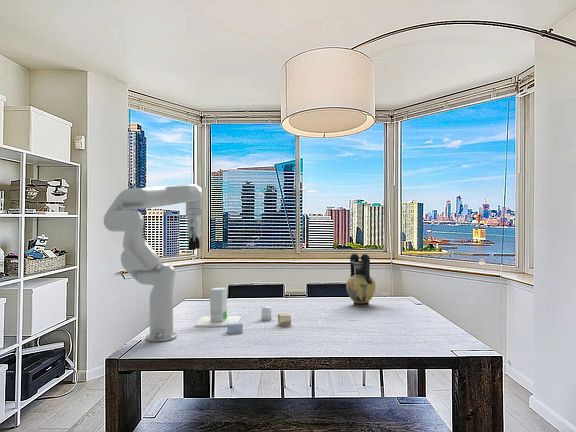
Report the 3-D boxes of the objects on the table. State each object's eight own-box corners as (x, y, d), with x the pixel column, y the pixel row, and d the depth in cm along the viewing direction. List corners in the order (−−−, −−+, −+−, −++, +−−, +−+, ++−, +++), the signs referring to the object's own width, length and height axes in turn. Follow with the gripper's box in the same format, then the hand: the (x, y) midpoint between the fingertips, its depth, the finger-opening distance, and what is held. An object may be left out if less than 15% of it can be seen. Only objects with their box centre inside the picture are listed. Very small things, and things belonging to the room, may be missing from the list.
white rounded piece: (271, 320, 220) (271, 308, 220) (261, 320, 220) (261, 308, 220) (271, 318, 225) (271, 306, 225) (261, 318, 225) (261, 306, 225)
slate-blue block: (242, 332, 196) (242, 323, 196) (229, 334, 193) (229, 324, 194) (240, 330, 199) (240, 321, 199) (227, 332, 197) (227, 323, 197)
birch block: (290, 325, 208) (290, 315, 208) (280, 326, 207) (280, 315, 207) (288, 323, 213) (287, 313, 213) (277, 324, 211) (277, 313, 211)
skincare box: (222, 322, 213) (222, 289, 213) (209, 322, 214) (209, 289, 214) (227, 318, 221) (227, 287, 221) (214, 318, 222) (214, 287, 222)
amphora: (340, 304, 260) (339, 253, 261) (358, 301, 271) (357, 252, 272) (364, 308, 247) (363, 255, 248) (382, 305, 258) (381, 253, 259)
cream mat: (237, 326, 207) (237, 324, 207) (194, 326, 207) (194, 325, 207) (241, 317, 227) (241, 315, 227) (202, 317, 227) (202, 316, 227)
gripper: (198, 212, 200) (198, 250, 199) (205, 213, 217) (205, 248, 217) (181, 212, 200) (182, 250, 199) (189, 213, 217) (190, 248, 216)
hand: (194, 249), depth 208 cm, fingers open, 9 cm apart
